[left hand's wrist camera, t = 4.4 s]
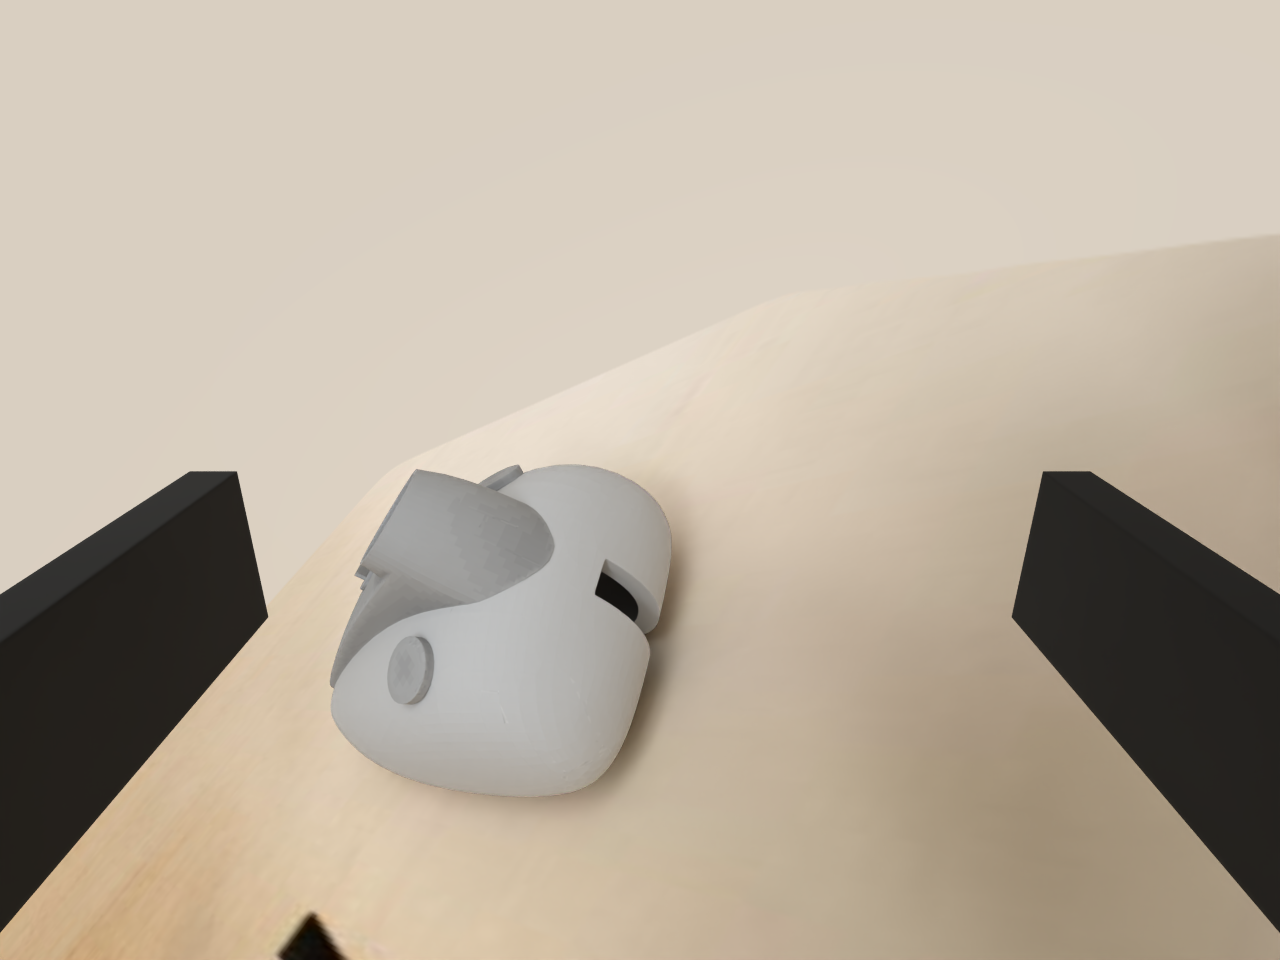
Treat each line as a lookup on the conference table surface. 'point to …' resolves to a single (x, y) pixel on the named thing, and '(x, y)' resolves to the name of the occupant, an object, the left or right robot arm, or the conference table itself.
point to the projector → (503, 629)
